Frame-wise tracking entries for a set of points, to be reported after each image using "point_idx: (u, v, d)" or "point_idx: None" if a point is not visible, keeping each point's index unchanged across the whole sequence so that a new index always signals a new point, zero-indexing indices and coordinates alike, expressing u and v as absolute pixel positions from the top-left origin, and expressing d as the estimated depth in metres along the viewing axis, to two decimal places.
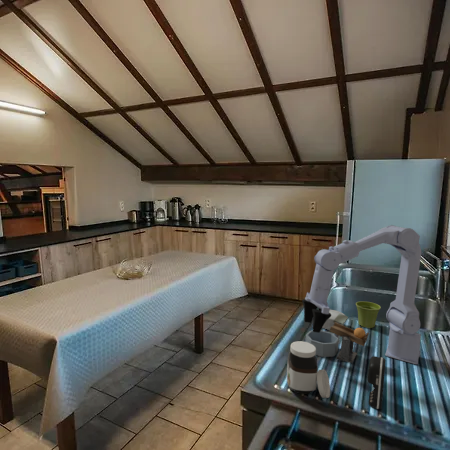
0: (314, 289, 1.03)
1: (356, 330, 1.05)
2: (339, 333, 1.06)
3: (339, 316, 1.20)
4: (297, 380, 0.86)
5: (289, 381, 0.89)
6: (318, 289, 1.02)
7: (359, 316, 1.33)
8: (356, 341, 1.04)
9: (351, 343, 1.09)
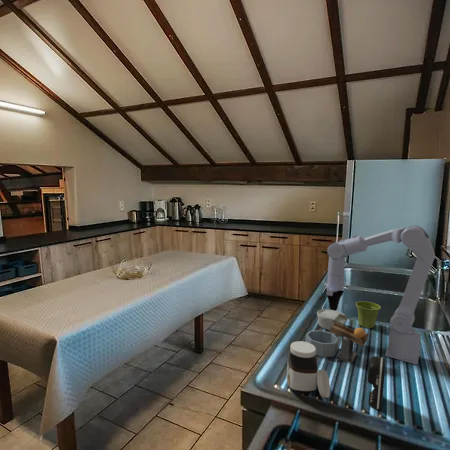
0: None
1: (356, 330, 1.05)
2: (339, 333, 1.06)
3: (339, 316, 1.20)
4: (297, 380, 0.86)
5: (289, 381, 0.89)
6: (329, 275, 1.20)
7: (359, 316, 1.33)
8: (356, 341, 1.04)
9: (351, 343, 1.09)
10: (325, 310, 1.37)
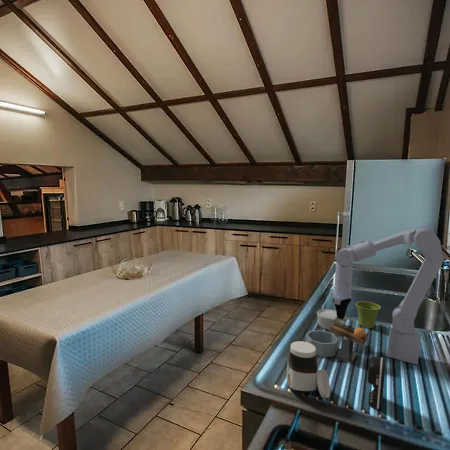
0: (335, 283, 1.17)
1: (356, 330, 1.05)
2: (339, 333, 1.06)
3: None
4: (297, 380, 0.86)
5: (289, 381, 0.89)
6: (336, 283, 1.16)
7: (359, 316, 1.33)
8: (356, 341, 1.04)
9: (351, 343, 1.09)
10: (325, 310, 1.37)
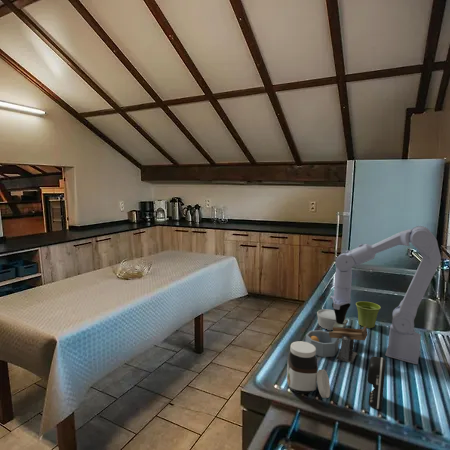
0: (334, 288, 1.17)
1: None
2: (338, 335, 1.07)
3: None
4: (297, 380, 0.86)
5: (289, 381, 0.89)
6: (336, 288, 1.16)
7: (359, 316, 1.33)
8: (356, 338, 1.04)
9: (351, 343, 1.09)
10: (325, 310, 1.37)
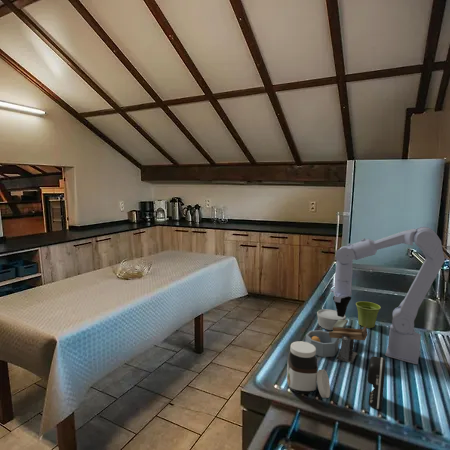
0: (335, 281, 1.17)
1: None
2: (338, 335, 1.07)
3: (338, 322, 1.20)
4: (297, 380, 0.86)
5: (289, 381, 0.89)
6: (337, 281, 1.16)
7: (359, 316, 1.33)
8: (356, 338, 1.04)
9: (351, 343, 1.09)
10: (325, 310, 1.37)
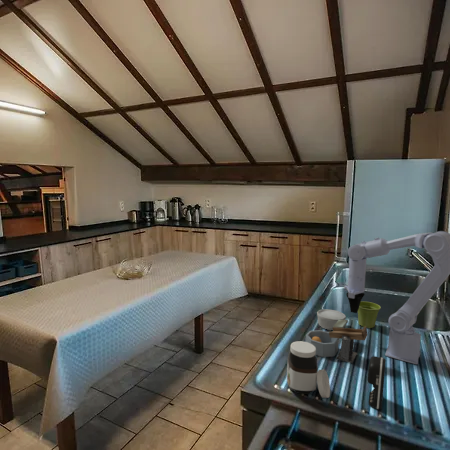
0: (348, 278, 1.19)
1: None
2: (338, 335, 1.07)
3: (338, 322, 1.20)
4: (297, 380, 0.86)
5: (289, 381, 0.89)
6: (350, 278, 1.18)
7: (359, 316, 1.33)
8: (356, 338, 1.04)
9: (351, 343, 1.09)
10: (325, 310, 1.37)
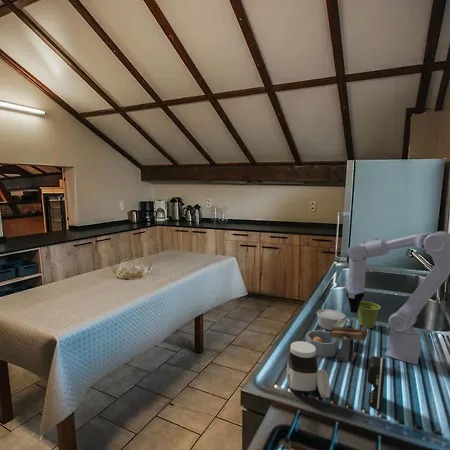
0: (348, 278, 1.19)
1: None
2: (338, 335, 1.07)
3: (338, 322, 1.20)
4: (297, 380, 0.86)
5: (289, 381, 0.89)
6: (350, 278, 1.18)
7: (359, 316, 1.33)
8: (356, 338, 1.04)
9: (351, 343, 1.09)
10: (325, 310, 1.37)
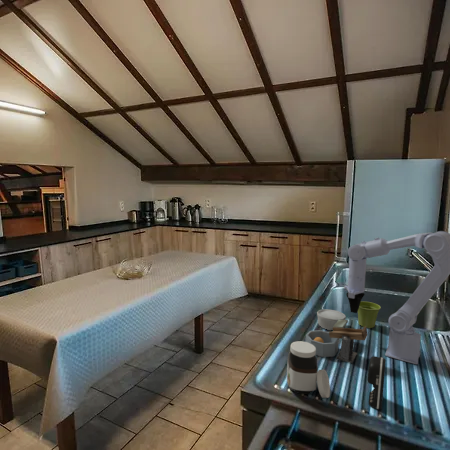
0: (348, 278, 1.19)
1: None
2: (338, 335, 1.07)
3: (338, 322, 1.20)
4: (297, 380, 0.86)
5: (289, 381, 0.89)
6: (350, 278, 1.18)
7: (359, 316, 1.33)
8: (356, 338, 1.04)
9: (351, 343, 1.09)
10: (325, 310, 1.37)
